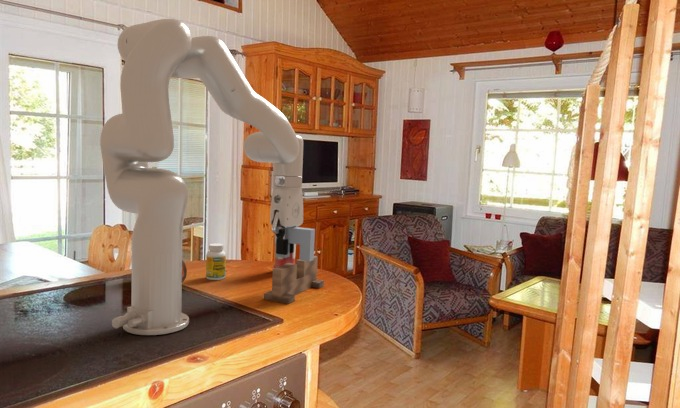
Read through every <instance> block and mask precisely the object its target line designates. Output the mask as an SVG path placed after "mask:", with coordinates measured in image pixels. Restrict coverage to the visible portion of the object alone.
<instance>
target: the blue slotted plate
mask: <svg viewBox="0 0 680 408" xmlns="http://www.w3.org/2000/svg"><path fill="white" fill-rule="evenodd" d="M280 227H284V226H282V225H281V226H280ZM280 230H282V229H280ZM282 231H283V230H282ZM315 237H316V228H309V227H300V226H298V227H291V228H287V239H288V254H287V255H282V254H277V253H276V250H275V249H274V258H275V257H281V258H287V257H290V243H291V244H296V245H299V257H298V258H299V260H302V261H312V260H314V256H315V239H316V238H315Z"/></svg>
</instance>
